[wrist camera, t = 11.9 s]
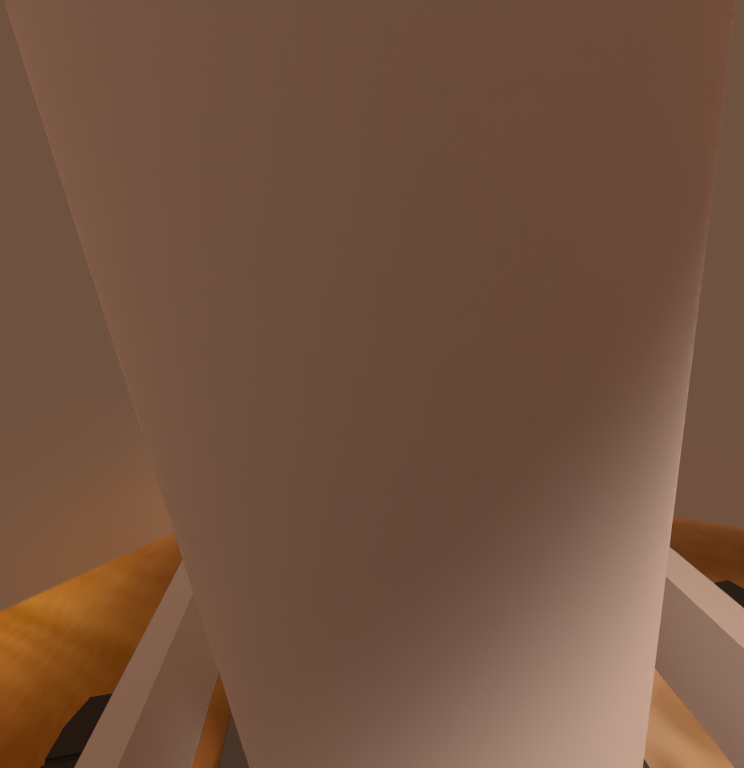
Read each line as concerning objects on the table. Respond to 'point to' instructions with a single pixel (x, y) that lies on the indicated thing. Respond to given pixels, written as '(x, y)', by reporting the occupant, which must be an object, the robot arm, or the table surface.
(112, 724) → the robot arm
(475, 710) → the cylindrical container
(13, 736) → the table surface
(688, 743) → the table surface
